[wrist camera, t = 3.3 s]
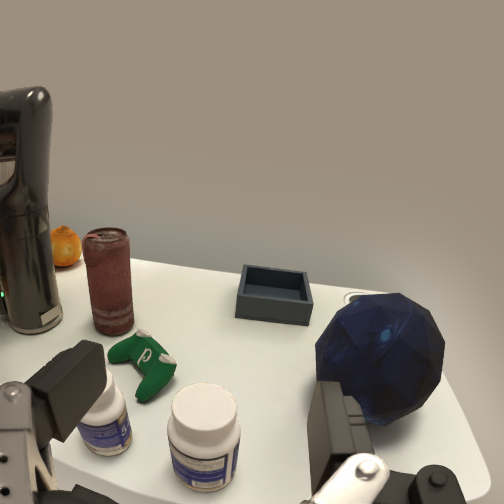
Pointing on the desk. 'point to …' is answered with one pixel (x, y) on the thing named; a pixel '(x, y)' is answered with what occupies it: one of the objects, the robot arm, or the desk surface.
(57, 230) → the fruit
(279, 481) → the desk surface
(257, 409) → the desk surface
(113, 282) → the can
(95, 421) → the pill bottle
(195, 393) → the pill bottle
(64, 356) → the robot arm
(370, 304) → the decorative orb
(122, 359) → the green curved piece
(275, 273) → the bin
